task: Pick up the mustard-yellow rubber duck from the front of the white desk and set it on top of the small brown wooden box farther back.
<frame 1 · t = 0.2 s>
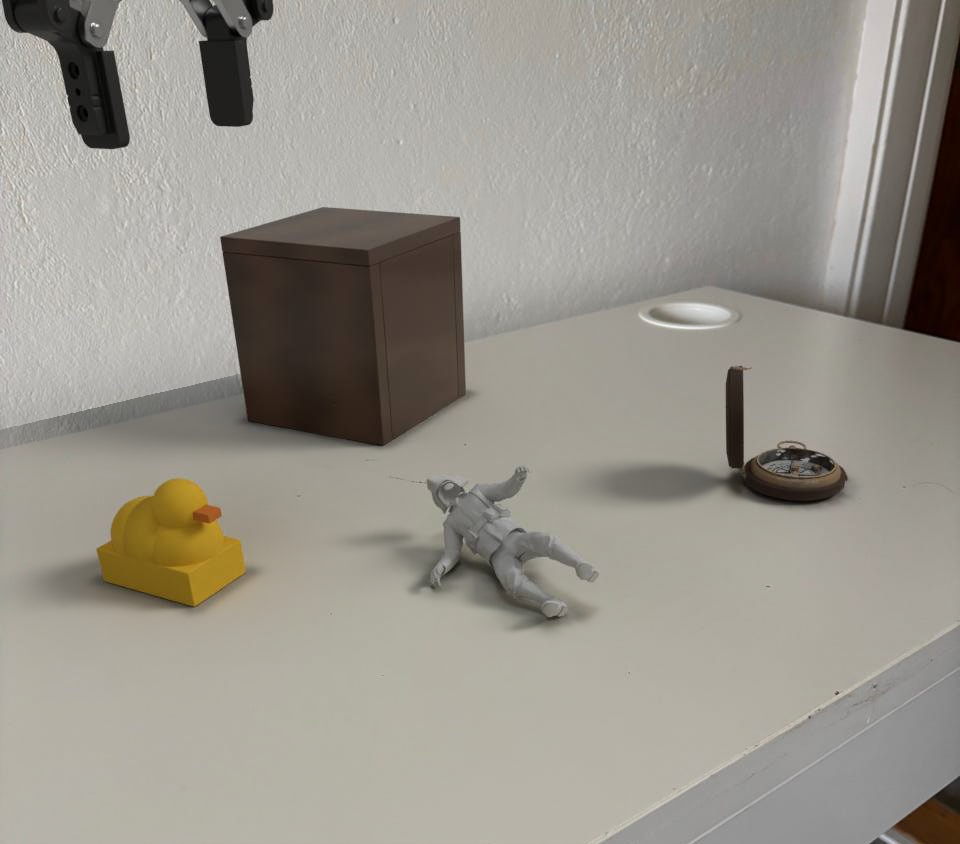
hand: (173, 136, 48), 21 cm above the table, tool pointing down, fingers open, 8 cm apart
compass: (779, 480, 65), on the table
brown wooden box: (359, 407, 78), on the table
rubber duck: (175, 576, 56), on the table
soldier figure: (504, 577, 55), on the table
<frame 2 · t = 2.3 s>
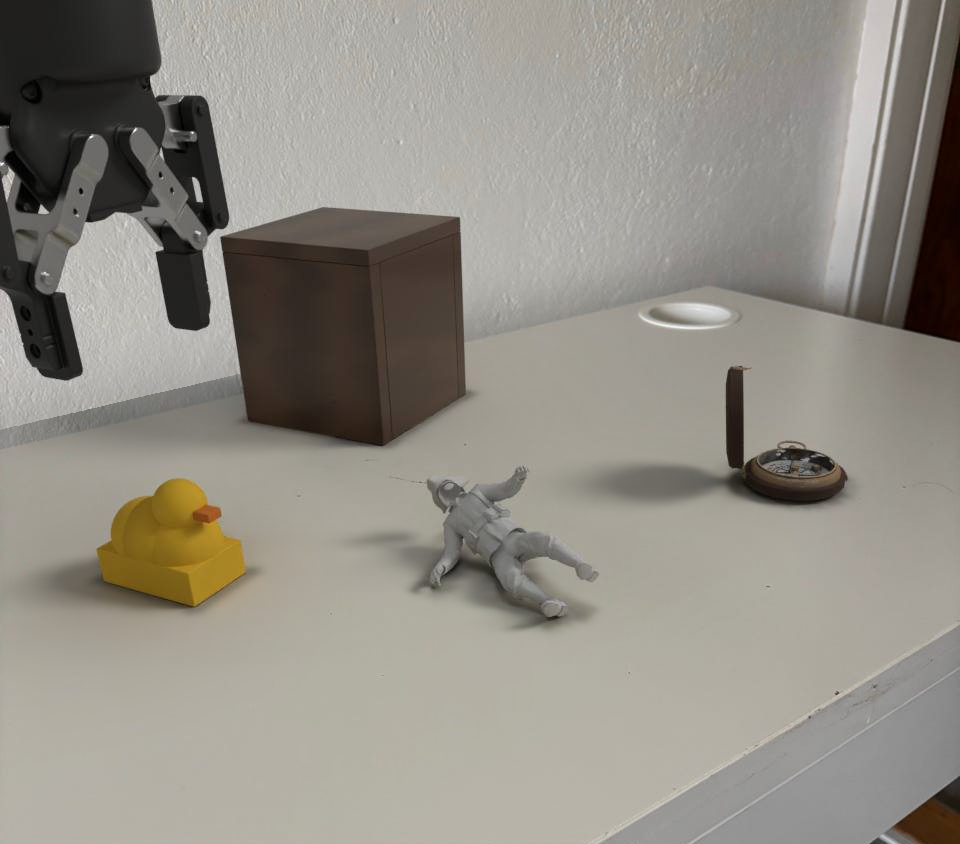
hand: (129, 351, 49), 12 cm above the table, tool pointing down, fingers open, 8 cm apart
nothing on the table moved.
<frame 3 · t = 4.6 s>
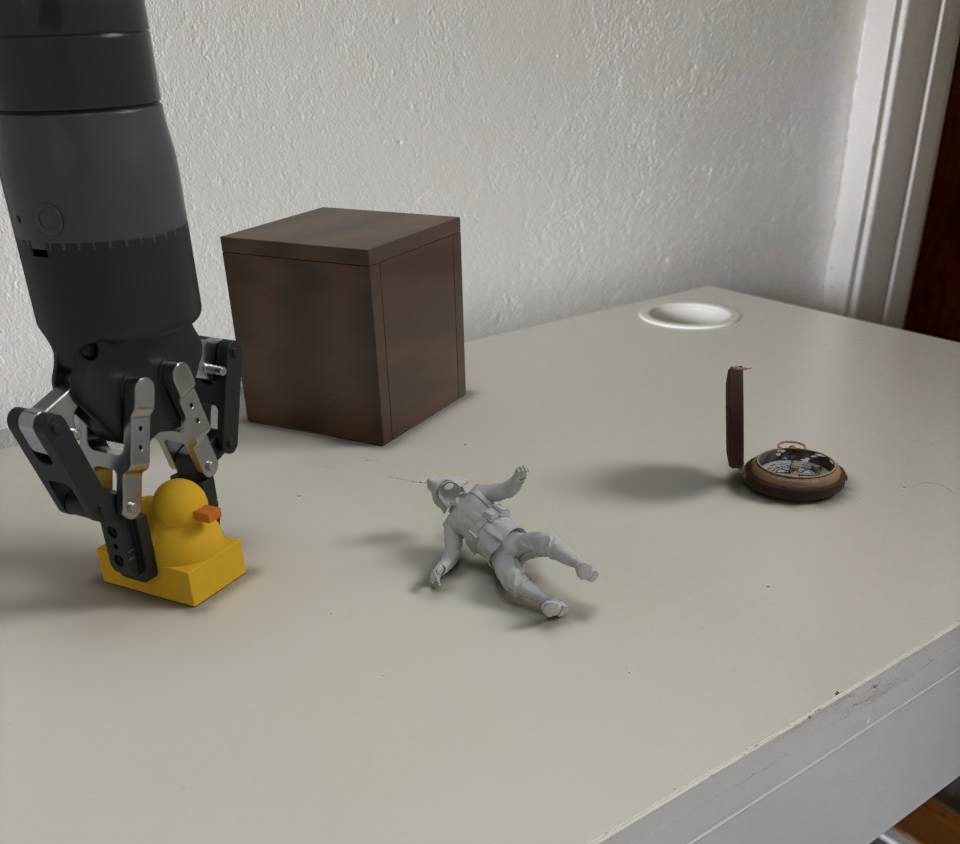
hand: (170, 556, 55), 1 cm above the table, tool pointing down, fingers closed on rubber duck, 4 cm apart
rubber duck: (175, 576, 56), on the table, touching gripper
everything else where it was.
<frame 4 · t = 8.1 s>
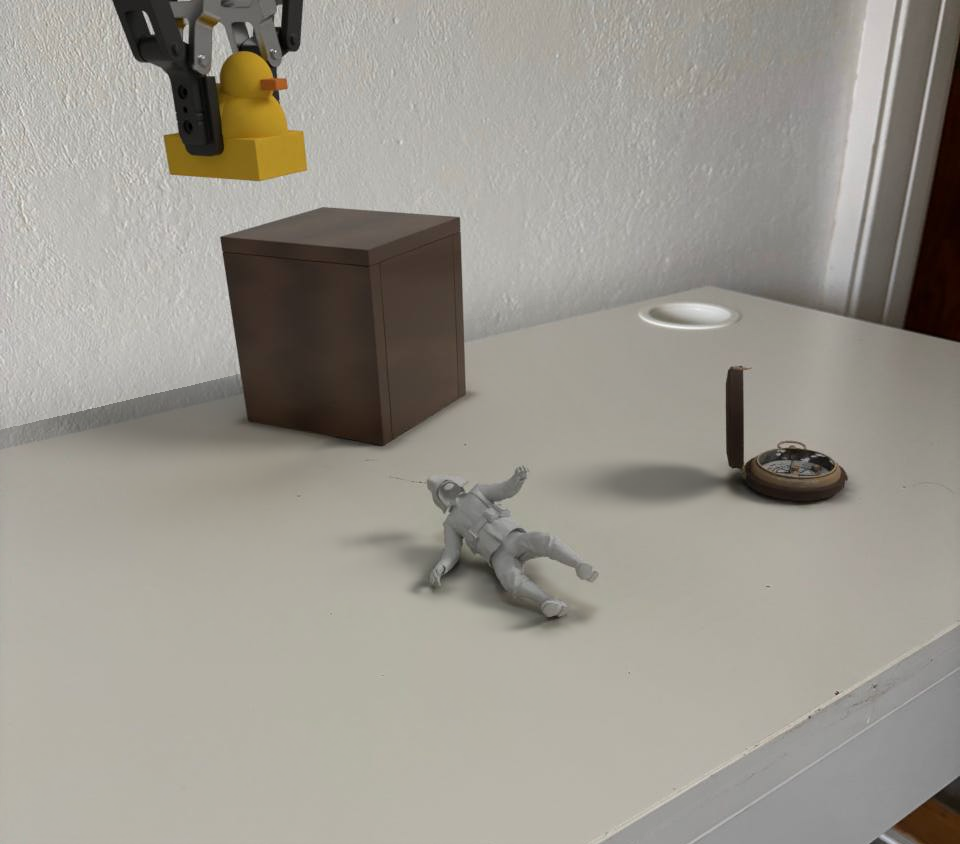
hand: (234, 147, 57), 20 cm above the table, tool pointing down, fingers closed on rubber duck, 4 cm apart
rubber duck: (238, 172, 57), point 18 cm above the table, touching gripper
everything else where it was.
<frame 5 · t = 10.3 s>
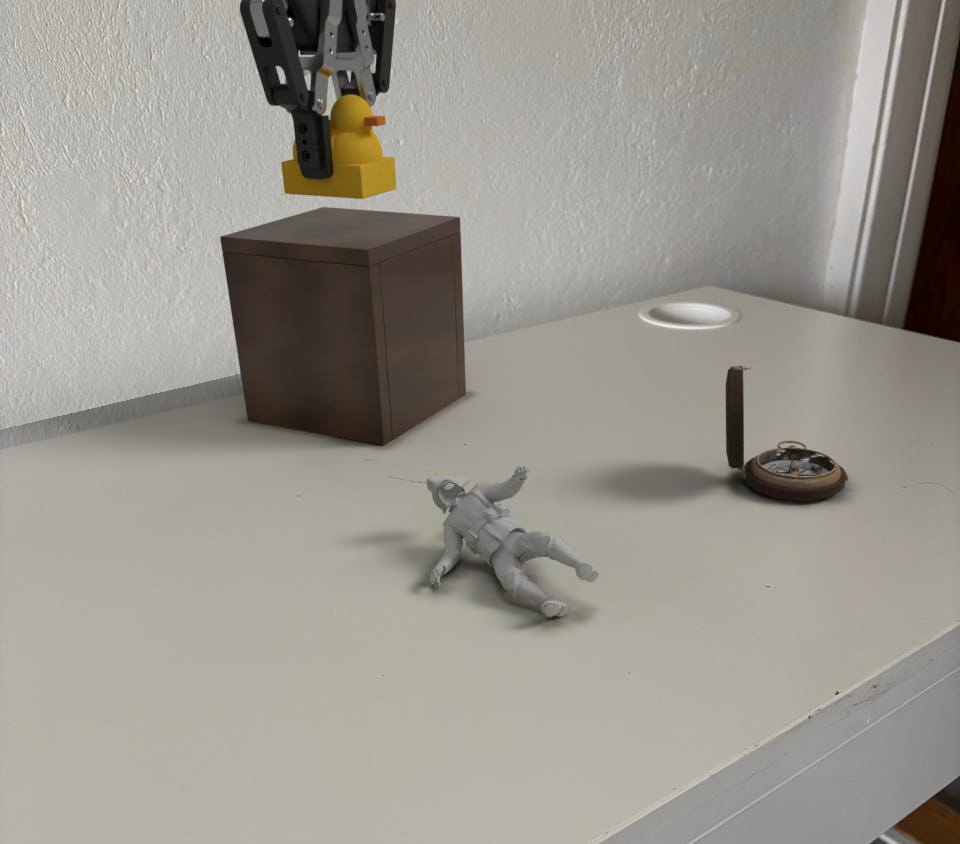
hand: (338, 171, 70), 17 cm above the table, tool pointing down, fingers closed on rubber duck, 4 cm apart
rubber duck: (340, 191, 70), point 15 cm above the table, touching gripper
everything else where it was.
when the fingers open (14 cm above the table, at t = 11.5 s): rubber duck stays where it is, resting on brown wooden box.
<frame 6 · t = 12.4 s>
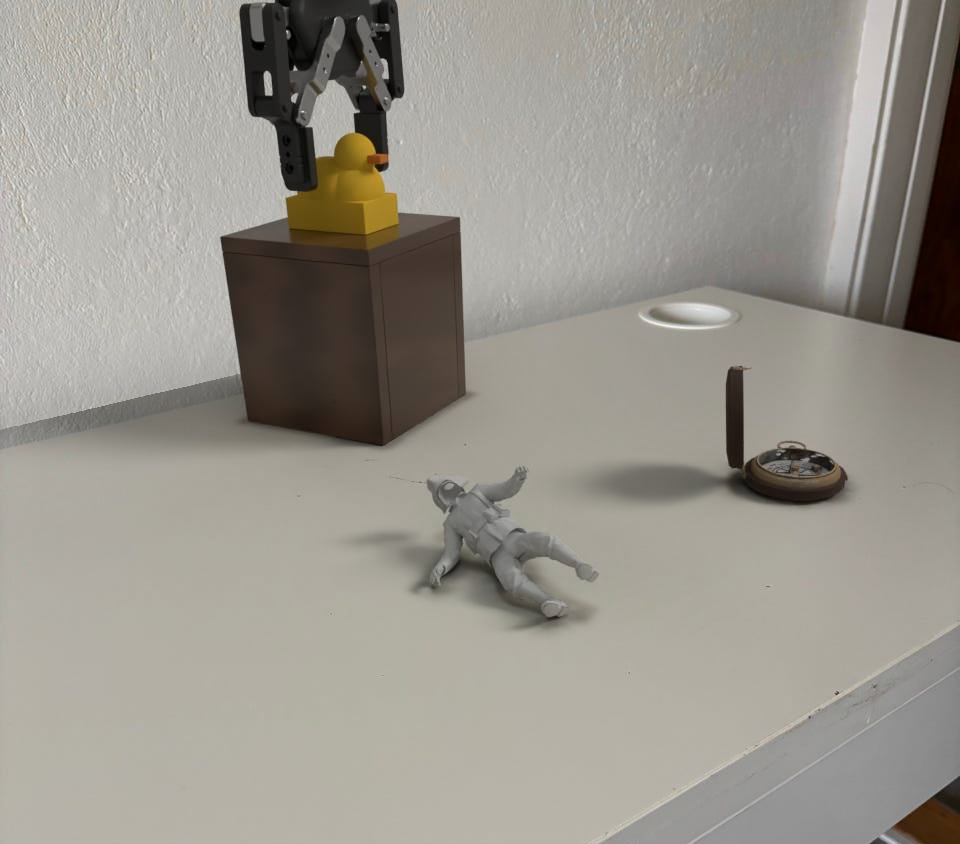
hand: (339, 180, 70), 16 cm above the table, tool pointing down, fingers open, 8 cm apart
rubber duck: (344, 226, 72), point 13 cm above the table, touching brown wooden box
everything else where it was.
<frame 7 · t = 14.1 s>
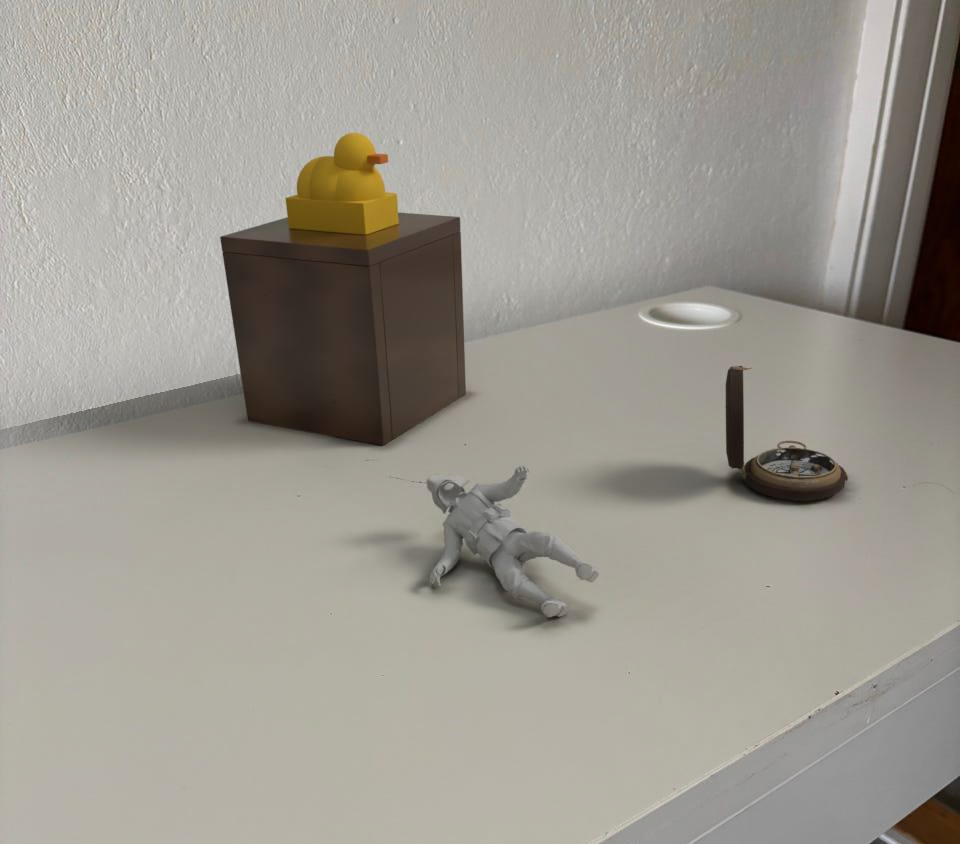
nothing on the table moved.
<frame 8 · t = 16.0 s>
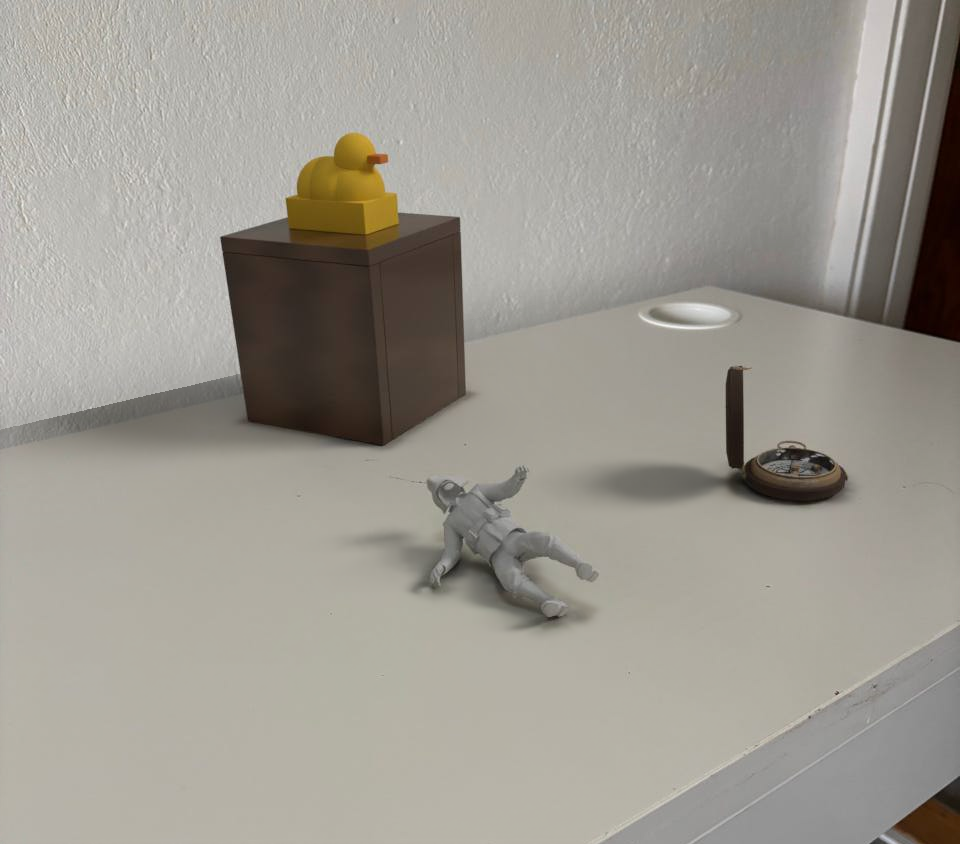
nothing on the table moved.
at the end: rubber duck inside the target area on the brown wooden box (0.0 cm from its centre), point 13.0 cm above the brown wooden box's base; rubber duck tilted 0°; the gripper is holding nothing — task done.
